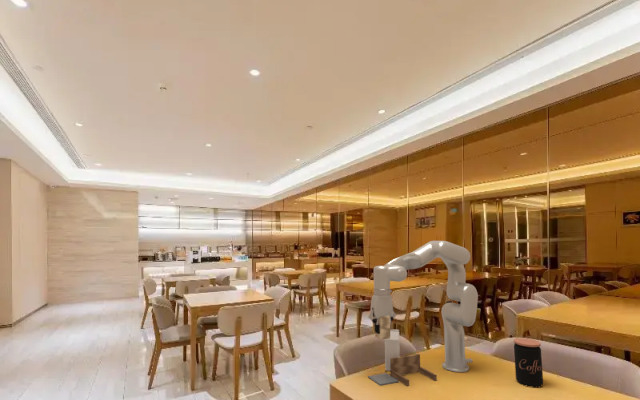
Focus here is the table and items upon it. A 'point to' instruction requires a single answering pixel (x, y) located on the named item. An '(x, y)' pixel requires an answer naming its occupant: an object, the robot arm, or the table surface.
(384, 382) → the coaster
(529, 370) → the coffee jar
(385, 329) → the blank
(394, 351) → the milk carton
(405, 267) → the robot arm
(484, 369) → the table surface
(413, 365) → the wooden arch bench
